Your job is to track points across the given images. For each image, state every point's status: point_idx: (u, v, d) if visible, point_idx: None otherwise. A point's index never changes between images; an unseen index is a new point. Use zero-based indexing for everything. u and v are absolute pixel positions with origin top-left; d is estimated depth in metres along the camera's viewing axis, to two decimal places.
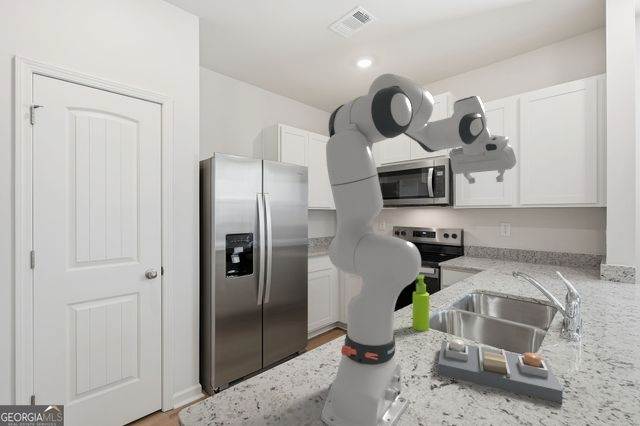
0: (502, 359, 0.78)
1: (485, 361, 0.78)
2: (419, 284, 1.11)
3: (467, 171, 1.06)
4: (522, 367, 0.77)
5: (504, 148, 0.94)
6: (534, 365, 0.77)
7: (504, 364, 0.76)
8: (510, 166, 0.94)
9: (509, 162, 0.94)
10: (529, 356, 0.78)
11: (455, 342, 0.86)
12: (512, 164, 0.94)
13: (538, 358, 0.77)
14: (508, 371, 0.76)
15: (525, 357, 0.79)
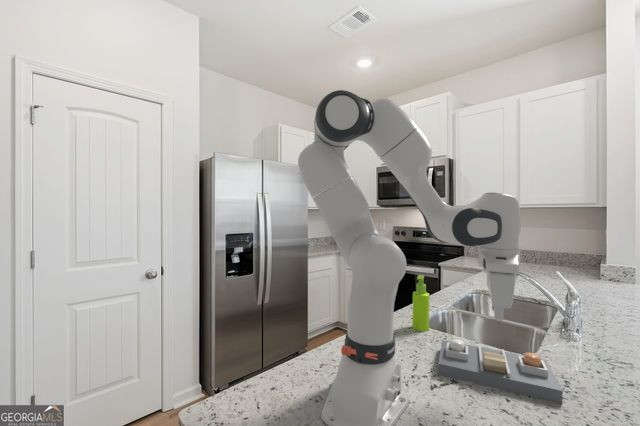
0: (502, 359, 0.78)
1: (485, 361, 0.78)
2: (419, 284, 1.11)
3: None
4: (522, 367, 0.77)
5: (496, 274, 0.66)
6: (534, 365, 0.77)
7: (504, 364, 0.76)
8: (492, 301, 0.66)
9: (491, 295, 0.66)
10: (529, 356, 0.78)
11: (455, 342, 0.86)
12: (495, 300, 0.65)
13: (538, 358, 0.77)
14: (508, 371, 0.76)
15: (525, 357, 0.79)
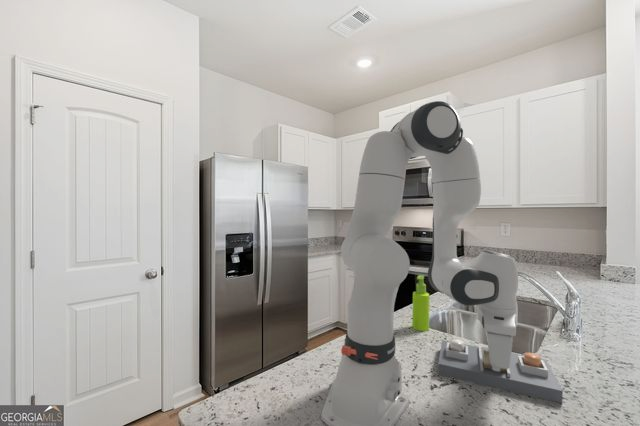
0: None
1: (485, 360, 0.79)
2: (419, 284, 1.11)
3: None
4: (522, 367, 0.77)
5: (494, 335, 0.69)
6: (534, 365, 0.77)
7: None
8: (490, 361, 0.69)
9: (489, 355, 0.69)
10: (529, 356, 0.78)
11: (455, 342, 0.86)
12: (493, 361, 0.68)
13: (538, 358, 0.77)
14: (508, 371, 0.76)
15: (525, 357, 0.79)
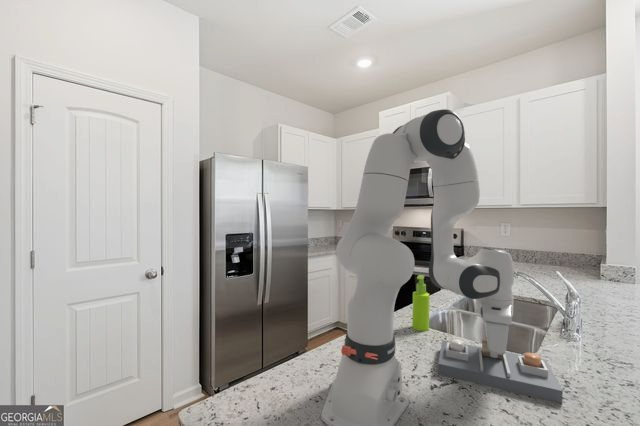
0: None
1: (483, 348, 0.85)
2: (419, 284, 1.11)
3: None
4: (522, 367, 0.77)
5: (492, 324, 0.76)
6: (534, 365, 0.77)
7: None
8: (488, 348, 0.75)
9: (487, 342, 0.75)
10: (529, 356, 0.78)
11: (455, 342, 0.86)
12: (490, 347, 0.75)
13: (538, 358, 0.77)
14: (508, 371, 0.76)
15: (525, 357, 0.79)
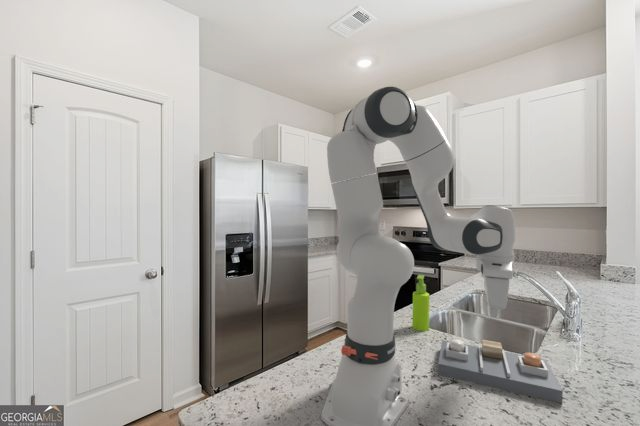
0: (499, 346, 0.85)
1: (483, 348, 0.85)
2: (419, 284, 1.11)
3: None
4: (522, 367, 0.77)
5: (492, 279, 0.74)
6: (534, 365, 0.77)
7: (501, 350, 0.84)
8: (488, 303, 0.74)
9: (487, 297, 0.74)
10: (529, 356, 0.78)
11: (455, 342, 0.86)
12: (491, 302, 0.73)
13: (538, 358, 0.77)
14: (508, 371, 0.76)
15: (525, 357, 0.79)
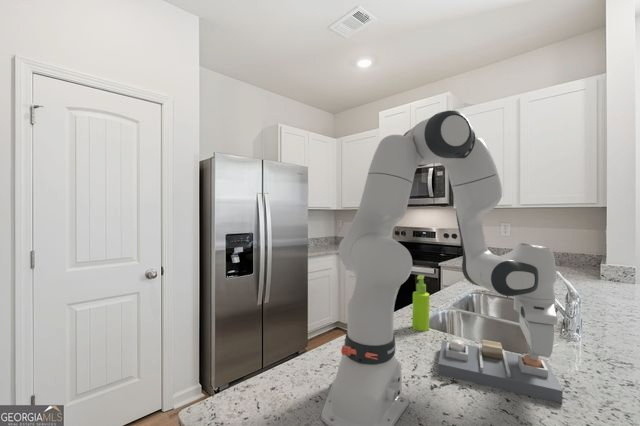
0: (499, 346, 0.85)
1: (483, 348, 0.85)
2: (419, 284, 1.11)
3: (522, 329, 0.83)
4: (522, 367, 0.77)
5: (536, 324, 0.71)
6: None
7: (501, 350, 0.84)
8: (532, 350, 0.71)
9: (531, 344, 0.71)
10: (529, 358, 0.78)
11: (455, 342, 0.86)
12: (535, 349, 0.70)
13: (538, 360, 0.77)
14: (508, 371, 0.76)
15: (525, 359, 0.79)
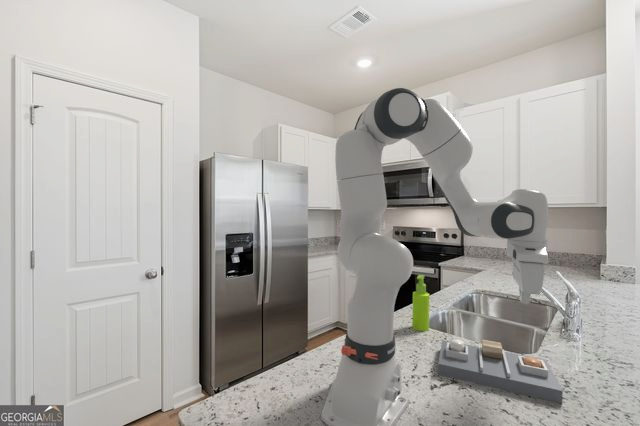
0: (499, 346, 0.85)
1: (483, 348, 0.85)
2: (419, 284, 1.11)
3: (514, 278, 0.84)
4: (522, 367, 0.77)
5: (526, 264, 0.72)
6: None
7: (501, 350, 0.84)
8: (522, 288, 0.72)
9: (522, 282, 0.72)
10: (529, 361, 0.78)
11: (455, 342, 0.86)
12: (525, 287, 0.71)
13: (538, 363, 0.77)
14: (508, 371, 0.76)
15: (525, 362, 0.79)
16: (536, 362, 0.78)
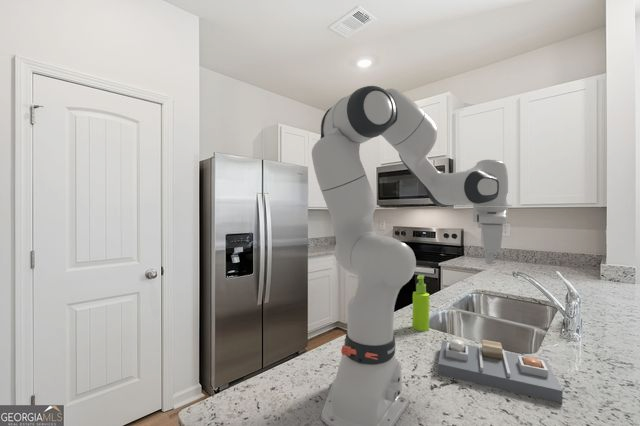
0: (499, 346, 0.85)
1: (483, 348, 0.85)
2: (419, 284, 1.11)
3: (481, 243, 0.93)
4: (522, 367, 0.77)
5: (487, 225, 0.80)
6: None
7: (501, 350, 0.84)
8: (484, 247, 0.80)
9: (483, 242, 0.80)
10: (529, 361, 0.78)
11: (455, 342, 0.86)
12: (486, 246, 0.79)
13: (538, 363, 0.77)
14: (508, 371, 0.76)
15: (525, 362, 0.79)
16: (536, 362, 0.78)
